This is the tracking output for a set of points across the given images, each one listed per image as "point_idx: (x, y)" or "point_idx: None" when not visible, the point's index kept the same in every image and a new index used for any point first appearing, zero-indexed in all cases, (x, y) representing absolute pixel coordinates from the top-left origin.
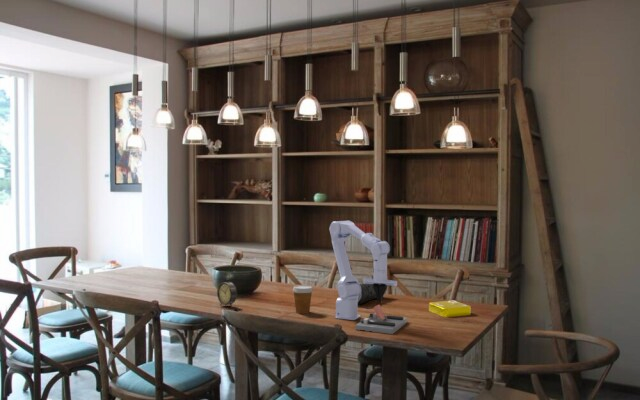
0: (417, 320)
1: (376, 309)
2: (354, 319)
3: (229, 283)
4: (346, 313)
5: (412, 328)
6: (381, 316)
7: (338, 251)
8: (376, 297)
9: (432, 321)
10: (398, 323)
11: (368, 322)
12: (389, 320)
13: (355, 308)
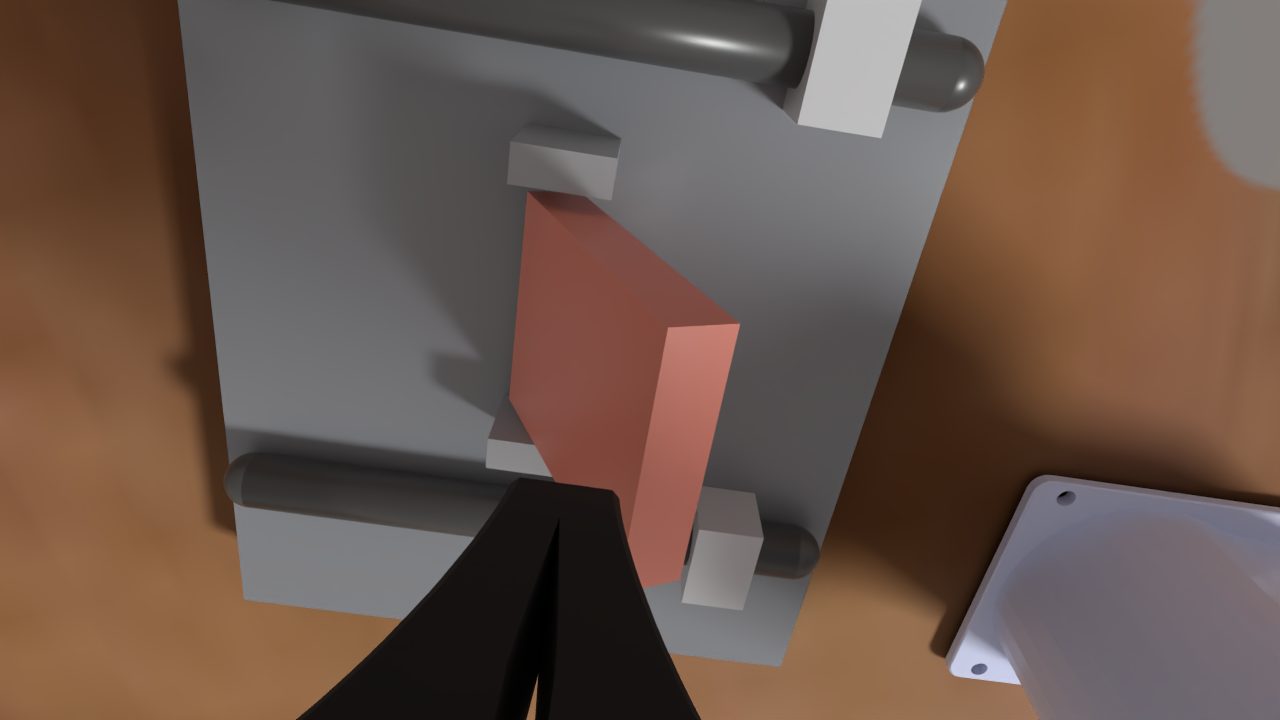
0: (191, 655)
1: (641, 288)
2: (1039, 481)
3: None
4: (1217, 560)
5: (59, 243)
6: (545, 289)
7: None
8: None
9: (3, 652)
10: (226, 213)
11: (789, 5)
12: (446, 380)
13: (1099, 670)
